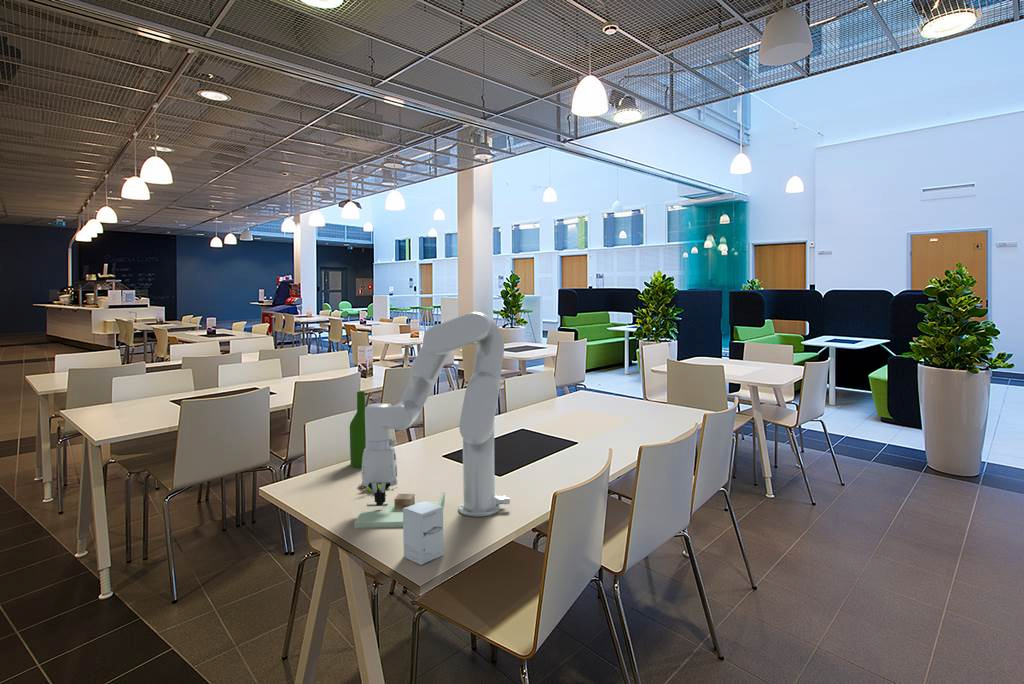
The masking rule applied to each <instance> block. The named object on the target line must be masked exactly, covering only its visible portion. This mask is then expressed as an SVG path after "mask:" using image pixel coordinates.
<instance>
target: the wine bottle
mask: <svg viewBox="0 0 1024 684" xmlns="http://www.w3.org/2000/svg"><path fill="white" fill-rule="evenodd" d="M365 408H366V391H363V390H362V391H360V390H359V391H357V392H356V413H355V414H354V417H353V418H352V420H351V422H350V424H349V450H350V451H349V452H350V454H349V455H350V456H349V457H350V460H349V461H350V467H351V468H354V469H362V459H363V452H364V449H366V433H365Z"/></svg>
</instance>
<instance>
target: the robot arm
mask: <svg viewBox="0 0 1024 684" xmlns="http://www.w3.org/2000/svg"><path fill="white" fill-rule="evenodd" d="M422 342H423V343H422V346H421V348H420V349H419V351H418V353H417V355H416V357H415V359H414V361H413V364H412V365H411V367H410V370H409V380H408V384H407V385H406V388H405V390H404V392H403V394H402V396H401V398H400V400H399V402H398V403H397V404H395V405H389V404H387V403H381V402H380V403H379V402H378V403H377V402H376V403H370V404H368V405H365V407H366V408H365V433H366V449H364V452H363V459H362V468H361V483H360V484H361V485H362V486H366V487H369V488H370V489H371V490H372V491H371V492H373V494H374V495H373V497H374V503H376V507H378V506H379V505H380V507H382V506H384V505H383V503H386V499H387V498H386V497H387V496H385V495H386V491H388V490H389V489H390V487H394V486H397V484H398V478H397V477H398V462H397V454H396V450H395V448H394V447H393V446H396V445H397V441H396V440H394V439H393V438H392V430H397V431H400V430H401V431H402V430H406V429H408V428H410V426H411V425H413V423H414V422H416V420H417V419H418V417H419V416H420V414H421V412H422V410H423V408H424V406H425V404H426V402H427V399H428V398H429V396H430V395H431V392H432V390H433V388H434V387H435V385H436V383H437V381H438V378H439V376H440V374H441V372H442V370H443V368H444V367H445V364H446V362H447V360H448V358H449V357H450V354H451V352H453V351H455V350H459V349H461V348H463V347H464V348H465V347H467V346H469V345H471V344H474V343H475V345H476V347H475V349H476V351H475V354H474V355H475V356H474V362H473V367H472V372H471V373H472V374H471V377H470V379H469V381H468V382H467V384H466V386H465V387H466V388H465V392H464V398H463V403H462V409H461V415H460V420H459V433H460V436H461V438H462V474H463V475H462V479H463V481H462V482H463V483H462V485H463V487H462V488H463V490H462V491H463V502H461V503H460V504H459V505H458V512H459V513H460V514H462V515H463V516H466V517H474V518H475V517H477V518H478V517H487V516H492V515H495V514H496V513H498V512H499V511H500V510H501V505H511V504H510V503H511V501H510V499H511V498H510V497H506V495H501V496H500V495H497V491H496V489H495V487H496V486H495V483H496V480H495V477H496V476H495V417H496V412H497V406H498V401H499V400H498V399H499V395H500V387H501V386H500V385H501V384H500V383H501V382H500V381H501V374H502V368H503V362H504V355H505V339H504V335H503V332H502V330H501V328H500V327H499V325H498V324H497V323H496V322H495V321H494V320H493V318H491V317H489V316H488V315H486V313H483V312H481V311H471V312H468V313H465V314H462V315H461V316H458V317H455V318H452V319H450V320H448V321H444V322H441V323H438V324H435V325H432V326H430V327H429V328H428V329H426V331H425V332H424V334H423V338H422ZM378 483H382V485H381V490H380V489H379V486H378ZM361 485H360V486H361ZM387 489H388V490H387Z"/></svg>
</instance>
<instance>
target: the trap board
mask: <svg viewBox="0 0 1024 684" xmlns="http://www.w3.org/2000/svg"><path fill="white" fill-rule="evenodd" d="M445 494H446V493H445V491H443V492H441V493H440V497H439V501H429V502H430V503H434V504H437V505H440V506H443V509H444V507H445V505H446V504H445V503H446V501H445V500H446V498H445V496H446V495H445ZM421 502H422V501H417V502H416V501H415V504H418V503H421ZM415 504H414V505H415ZM366 506H367V507H373V506H376V502H374V503H373V502H370V503H369V502H367V503H366ZM379 506H380V505H379ZM382 506H385V508H384V510H380V511H379V510H378V511H377V510H376V511H375V510H374V511H373V510H372V511H361V512H360V513H359V515H358V516H357V518H356V519H355V520H354V522H353V528H354V529H355V528H357V529H358V528H359V529H360V528H362V529H363V528H396V527H397V528H398V527H399V528H401V527H402V528H403V509H395V504H394V502H384V503H383V505H382ZM376 507H377V506H376ZM380 507H381V506H380Z"/></svg>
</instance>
